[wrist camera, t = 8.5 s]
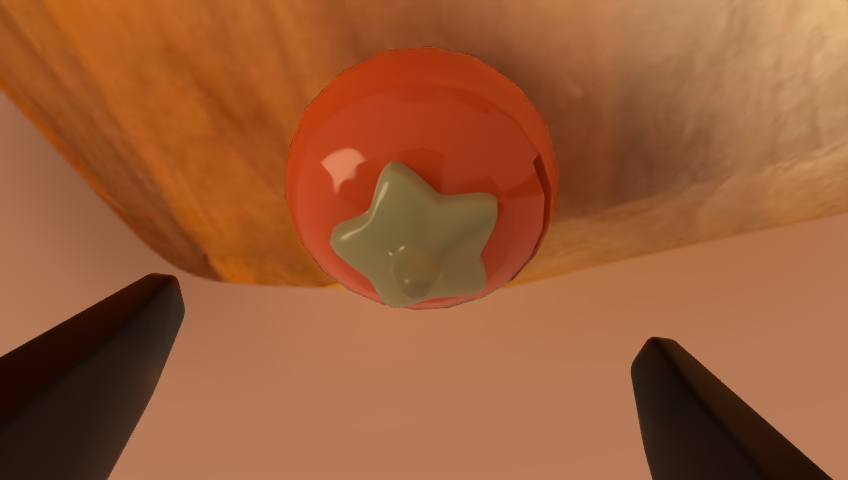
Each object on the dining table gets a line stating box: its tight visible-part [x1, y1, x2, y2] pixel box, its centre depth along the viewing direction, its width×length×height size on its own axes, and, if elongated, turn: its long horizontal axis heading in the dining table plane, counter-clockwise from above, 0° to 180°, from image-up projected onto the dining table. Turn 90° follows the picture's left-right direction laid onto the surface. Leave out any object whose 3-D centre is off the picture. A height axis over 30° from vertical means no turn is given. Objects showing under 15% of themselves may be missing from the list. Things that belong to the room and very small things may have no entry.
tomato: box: [285, 46, 559, 310], centre depth 12 cm, size 7×7×8 cm
